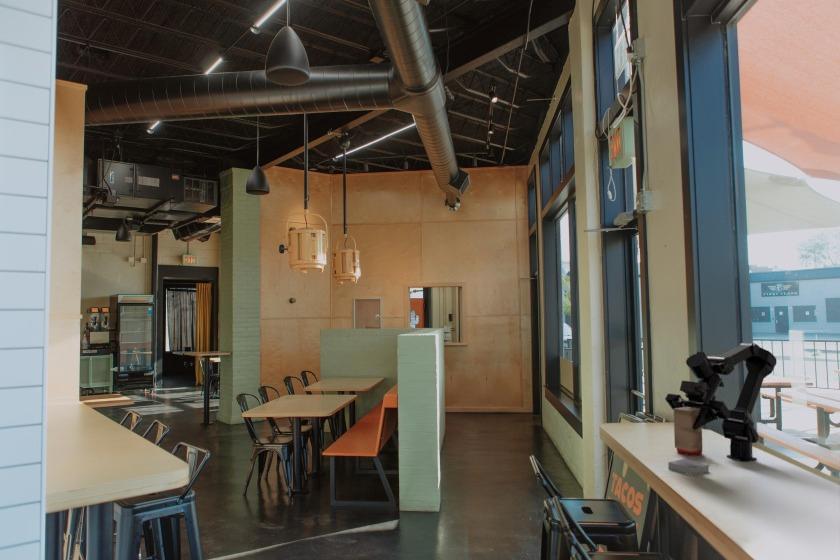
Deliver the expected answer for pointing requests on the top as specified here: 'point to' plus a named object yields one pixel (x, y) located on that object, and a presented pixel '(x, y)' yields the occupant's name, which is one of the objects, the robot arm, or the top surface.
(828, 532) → the top surface
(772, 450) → the top surface
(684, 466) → the slate tile
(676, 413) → the walnut block
